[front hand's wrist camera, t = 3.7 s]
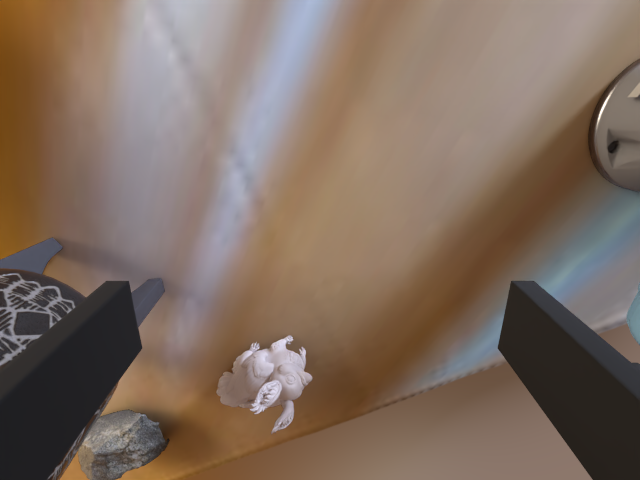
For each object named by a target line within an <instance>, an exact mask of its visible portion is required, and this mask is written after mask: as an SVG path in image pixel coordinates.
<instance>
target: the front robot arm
mask: <svg viewBox="0 0 640 480" xmlns="http://www.w3.org/2000/svg"><path fill="white" fill-rule="evenodd" d="M589 150H590V155H591V158H592V161H593V163H594V165H595V167H596V168H597V170H598V171H599V173H600V174H601V175H602V176H603V177H604V178H605V179H607V180H608V181H609V182H611V183H613V184H615V185H617V186H619V187H623V188H626V189H630V190H633V191H639V192H640V59H638V60H637V61H635V62H634V63H632V64H631V65H630V66H628V67H627V68H626V69H625V70H623V71H622V72H621V73H620V74H619V75H618V76H617V77H616V78H615V79H614V80H613V82H612V83H611V84H610V85H609V86H608V88H607V89H606V91H605V92H604V93H603V95H602V97H601V98H600V100H599V102H598V104H597V106H596V108H595V111H594V113H593V116H592V120H591V124H590V128H589ZM627 323H628V326H629V328H630V331H631V334H632V336H633V337H634V339H635V340H636V341H637V343H638V344H639V345H640V283H639V286H638V293H637V295H636V297H635V299H634V300H633V302H632V304H631V306H630V308H629V310H628V313H627ZM141 349H142V345H141V340H140V335H139V330H138V325H137V320H136V315H135V310H134V305H133V300H132V295H131V290H130V285H129V281H106V282H105V283H103V284H102V285H101V286H100V287H99V288H98V289H96V290H95V291H94V292H93V293H92V294H90V295H89V296H88V297H87V298H86V299H84V300H83V301H82V302H81V303H80V304H78V305H77V306H76V307H75V308H74V309H72V310H71V311H70V312H69V313H68V314H66V315H65V316H64V317H63V318H62V319H60V320H59V321H58V322H57V323H56V324H55V325H53V326H52V327H51V328H50V329H49V330H47V331H46V332H45V333H44V334H43V335H41V336H40V337H39V338H38V339H37V340H35V341H34V342H33V343H32V344H31V345H29V346H28V347H27V348H26V349H25V350H23V351H22V352H21V353H20V354H19V355H17V356H16V357H15V358H14V359H13V360H12V361H10V362H9V363H8V364H2V365H1V366H0V480H47V479H48V478H49V476H50V475H51V474H52V472H53V471H54V469H55V468H56V467H57V465H58V464H59V463H60V461H61V460H62V458H63V457H64V456H65V454H66V453H67V451H68V450H69V449H70V447H71V446H72V445H73V443H74V442H75V440H76V439H77V438H78V436H79V435H80V434H81V432H82V431H83V429H84V428H85V427H86V425H87V424H88V422H89V421H90V420H91V418H92V417H93V416H94V414H95V413H96V411H97V410H98V409H99V407H100V406H101V404H102V403H103V402H104V400H105V399H106V398H107V396H108V395H109V393H110V392H111V391H112V389H113V388H114V386H115V385H116V384H117V382H118V381H119V380H120V378H121V377H122V375H123V374H124V373H125V371H126V370H127V369H128V367H129V366H130V364H131V363H132V362H133V360H134V359H135V357H136V356H137V355H138V353H139V352H140V351H141ZM498 349H499V351H500V352H501V353H502V355H503V356H504V357H505V359H506V360H507V362H508V363H509V364H510V366H511V367H512V368H513V370H514V371H515V373H516V374H517V375H518V377H519V378H520V380H521V381H522V382H523V384H524V385H525V386H526V388H527V389H528V391H529V392H530V393H531V395H532V396H533V398H534V399H535V400H536V402H537V403H538V404H539V406H540V407H541V409H542V410H543V411H544V413H545V414H546V416H547V417H548V418H549V420H550V421H551V422H552V424H553V425H554V427H555V428H556V429H557V431H558V432H559V434H560V435H561V436H562V438H563V439H564V440H565V442H566V443H567V445H568V446H569V447H570V449H571V450H572V451H573V453H574V454H575V456H576V457H577V458H578V460H579V461H580V462H581V464H582V465H583V467H584V468H585V469H586V471H587V472H588V474H589V475H590V476H591V478H592V479H593V480H640V364H639V363H631V362H630V361H628V360H627V359H626V358H625V357H624V356H623V355H621V354H620V353H619V352H618V351H617V350H615V349H614V348H613V347H612V346H611V345H609V344H608V343H607V342H606V341H605V340H603V339H602V338H601V337H600V336H599V335H597V334H596V333H595V332H594V331H593V330H591V329H590V328H589V327H588V326H587V325H585V324H584V323H583V322H582V321H581V320H580V319H578V318H577V317H576V316H575V315H574V314H572V313H571V312H570V311H569V310H568V309H566V308H565V307H564V306H563V305H562V304H560V303H559V302H558V301H557V300H556V299H554V298H553V297H552V296H551V295H550V294H548V293H547V292H546V291H545V290H544V289H542V288H541V287H540V286H539V285H538V284H537V283H535V282H534V281H511V285H510V290H509V295H508V300H507V305H506V310H505V315H504V320H503V325H502V330H501V335H500V340H499V345H498Z"/></svg>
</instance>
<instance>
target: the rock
mask: <svg viewBox="0 0 640 480" xmlns="http://www.w3.org/2000/svg"><path fill="white" fill-rule="evenodd" d="M140 417H141V418H140ZM139 418H140V419H139ZM168 442H169V439H167V441H166V443H165V439H164V438H163V435H162V432H161V430H160V428H159V423H158V422H153V421H150V420H149V419H148V418H147V417H146V415H145V414H142V415H141V414H140V413H135V412H134V411H132V410H123V411H119V412H118V411H117V412H114V413H111V414H108V415H105V416H101V417H99V418H98V420H97V421H96V423H95V424H94V426H93V428H92V429H91V431H90V432H89V434H88V436H87V437H86V439H85V440H84V442H83V443H82V445H81V447H80V448H79V450H78V457H79V462H80V464H81V470H82V471H83V472H84V473H85V474H86V476H87V478H88V479H90V480H115V479H118V478H121V477H122V475H123V474H124V473H125V472H126V471H129V470H132V469H135V468H139V467H141V466H144V465H146V464H147V463H149V462H151V461H152V460H154V459H155V458H157V457H158V456H159V455H160V454H161V452H162V451H164V450H165V448H166V447H167V445H168Z"/></svg>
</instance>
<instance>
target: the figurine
mask: <svg viewBox="0 0 640 480" xmlns="http://www.w3.org/2000/svg"><path fill="white" fill-rule="evenodd" d="M293 340H294V339H292V336H290V335H288V336H287V337H286V338H284V339H281V340H278V341H277V342H274V343H272V345H271V346H270V348H267V349H263V350H259V351H257V350H258V349H259V348H260V347H258V346H259V344H257V345H256V343H255V344H254V346H253V344H251V347H250V349H249V351H245V352H244V353H242V355H240V356H238V358H236V361H235V362H234V363H233V366H234V367H233V368H232V370H233V373H230V372H224V373H223V375H222V377H221V378H220V379H219V383H218V389H217V392H216V393H217V395H219V396H221V398H220V401H221V403H222V404H224V405H229V406H230V407H238V406H239V407H242V408H253V409H250V410H251V411H253V412H255V411H257V410H258V411H257V412H256V413H254V414H259V413H260V412H261V411H263V412H264V409H266V408H268V407H274V406H278V405H282V407H283V412H282V414H281V415H280V417H279V418H278V419H277V420H276V422H275V424H274V428H273V430H272V431H271V434H272V433H273V432H274V433H276V431H277V430H278V431H279V430H282V429H284V428H286V427H287V426H288V425H289V424H290V423H291V422H292V420H293V417H294V405H293V402H292V400H295V399H297V398H299V397H300V395H301V393H302V391H303V389H304V387H305V386H306V385H308V383H310V382H311V381H312V376H311V375H310V374H309V373H307V372H304V368H305V364H306V357H305V355H306V350H305V349H303V348H302V347H301V349H302V351H301V349H299V351H300V355H299V354H297V353H295V352H293V351H290V350H287V349H286V344H291V343H290V342H291V341H293ZM255 346H256V347H255ZM257 347H258V348H257ZM248 400H250V401H248Z"/></svg>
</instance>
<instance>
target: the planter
mask: <svg viewBox="0 0 640 480" xmlns="http://www.w3.org/2000/svg"><path fill="white" fill-rule="evenodd" d="M62 248H63V247H62V246H61V245H60V244H59V243H58V242H57V241H56V240H55V239H54V238H50V239H48V240H45V241H43V242H41V243H38V244H36V245H34V246H31V247H29V248H27V249H24V250H22V251H20V252H17V253H15V254H13V255H10V256H8V257H6V258H4V259H1V260H0V366H1V365H2V364H8V363H9V362H10V361H12V360H13V359H14V358H15V357H16V356H17V355H19V354H20V353H21V352H22V351H23V350H25V349H26V348H27V347H28V346H29V345H31V344H32V343H33V342H34V341H35V340H37V339H38V338H39V337H40V336H41V335H43V334H44V333H45V332H46V331H47V330H49V329H50V328H51V327H52V326H53V325H55V324H56V323H57V322H58V321H59V320H60V319H62V318H63V317H64V316H65V315H66V314H68V313H69V312H70V311H71V310H72V309H74V308H75V307H76V306H77V305H78V304H80V303H81V302H82V301H83V300H84V299H86V297H85V296H83V295H82V294H81V293H79V292H78V291H76V290H75V289H73V288H71V287H70V286H68V285H66V284H64V283H62V282H60V281H58V280H56V279H54V278H51V277H48V276H45V275H42V273H43V270H44V268H45V266H46V265H47V263H48V261H49V260H50V259H51V258H52V257H53V256H54V255H55V254H56V253H58V252H59V251H60V250H61V249H62ZM164 292H165V290H164V287H163V283H162V280H161V278H157V279H148V280H147V281H146V282H145V283H144V284H142V285H141V286H140V287H139V288H137V289H136V290H135V291H133V292H132V293H131V295H132V300H133V305H134V310H135V315H136V320H137V325H138V327H139V326H140V324H141V323H142V322H143V320H144V319H145V318H146V316H147V315H148V313H149V312H150V311H151V309H152V308H153V307H154V305H155V304H156V303H157V301H158V300H159V298H160V297H161V296H162V294H163V293H164ZM118 382H119V381H118ZM118 382H117V384H116V385H115V386H114V388H113V389H112V391H111V392H110V393H109V395H108V396H107V398H106V399H105V400H104V402H103V403H102V404H101V406H100V407H99V409H98V410H97V411H96V413H95V414H94V416H93V417H92V418H91V420H90V421H89V422H88V424H87V425H86V427H85V428H84V429H83V431H82V432H81V434H80V435H79V436H78V438H77V439H76V440H75V442H74V443H73V445H72V446H71V447H70V449H69V450H68V451H67V453H66V454H65V456H64V457H63V458H62V460H61V461H60V463H59V464H58V465H57V467H56V468H55V469H54V471H53V472H52V474H51V475H50V476H49V478H48V479H47V480H60V478H61V477H62V475H63V474H64V472H65V470H66V469H67V467H68V466H69V464H70V463H71V461H72V459H73V458H74V456H75V455H76V453H77V451H78V450H79V448H80V447H81V445H82V443H83V442H84V440H85V439H86V437H87V436H88V434H89V432H90V431H91V429H92V428H93V426H94V424H95V423H96V421H97V420H98V418H99V417H100V415H101V413H102V412H103V410H104V409H105V407H106V405H107V404H108V402H109V401H110V399H111V397H112V395H113V393H114V392H115V390H116V388H117V385H118Z"/></svg>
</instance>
